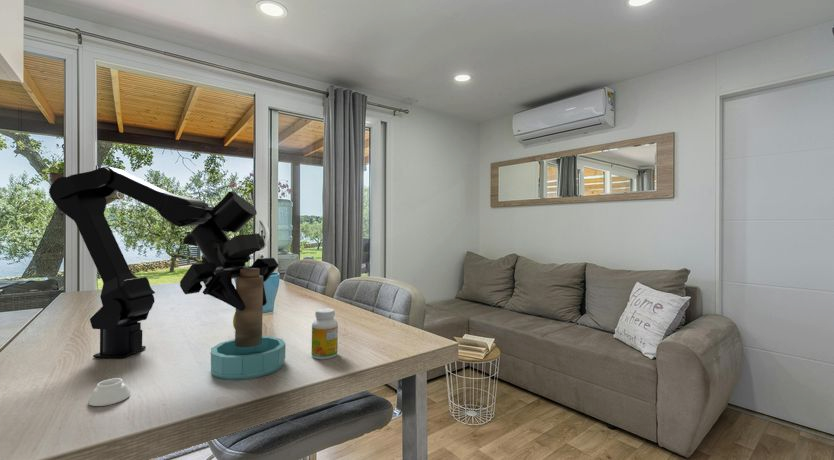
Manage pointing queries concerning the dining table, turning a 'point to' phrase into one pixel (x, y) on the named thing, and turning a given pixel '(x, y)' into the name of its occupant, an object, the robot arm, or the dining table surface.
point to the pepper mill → (249, 308)
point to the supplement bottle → (324, 334)
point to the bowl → (247, 359)
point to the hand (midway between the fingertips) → (254, 306)
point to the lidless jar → (109, 392)
